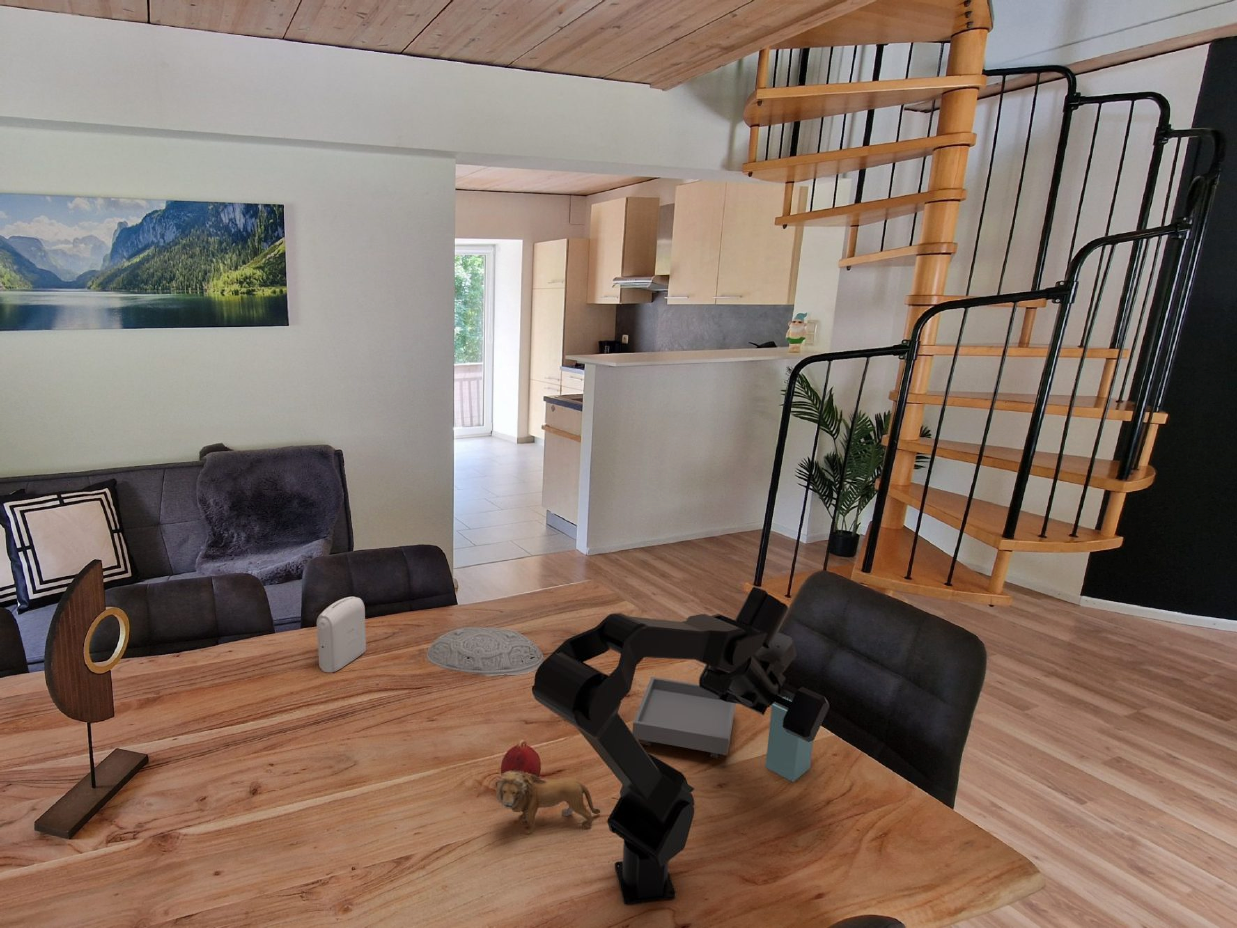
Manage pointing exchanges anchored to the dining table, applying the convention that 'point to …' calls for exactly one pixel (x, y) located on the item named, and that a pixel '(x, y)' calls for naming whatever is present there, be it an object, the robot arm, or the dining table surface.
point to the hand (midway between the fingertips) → (779, 714)
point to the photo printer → (341, 633)
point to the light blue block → (786, 748)
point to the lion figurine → (542, 796)
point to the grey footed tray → (684, 717)
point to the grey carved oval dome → (485, 652)
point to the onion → (521, 759)
